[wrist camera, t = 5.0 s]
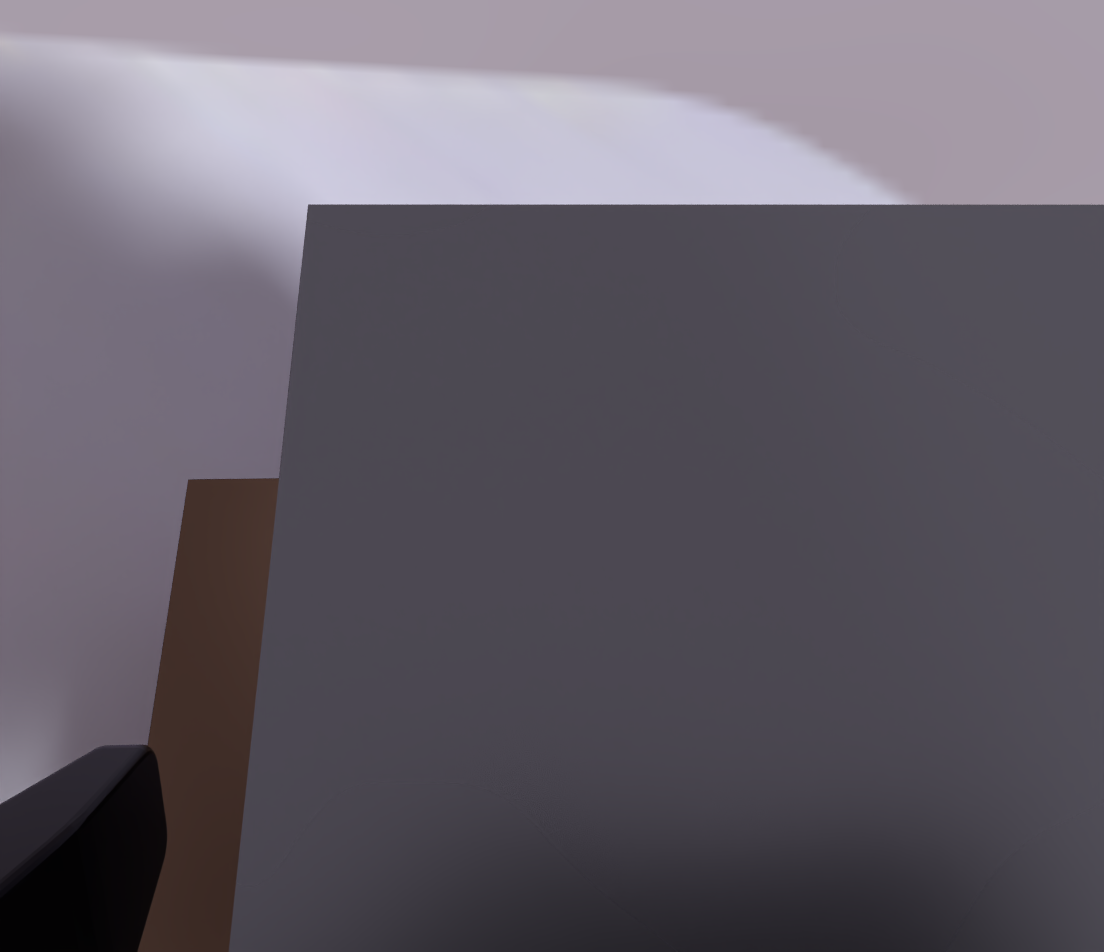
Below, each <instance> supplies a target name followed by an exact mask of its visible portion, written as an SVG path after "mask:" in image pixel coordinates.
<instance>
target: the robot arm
mask: <svg viewBox="0 0 1104 952" xmlns="http://www.w3.org/2000/svg"><path fill="white" fill-rule="evenodd" d="M166 848H167V823H166V816H165V809H164V802H163V795H162V788H161V781H160V773H159V766H158V761H157V758H156V755H155V753H154V751H153V750H152V749H151V748H150V747H149V746H147V745H109V746H102V747H98V748H96V749H94V750H93V751H91V752H89V753H88V754H86V755H84V756H82V757H81V758H79V759H77V760H76V761H74V762H72V763H70V764H69V765H67V766H65V767H63V768H62V769H60V770H58V771H57V772H55V773H53V774H51V775H50V776H48V777H46V778H45V779H43V780H41V781H39V782H38V783H36V784H34V785H33V786H31V787H29V788H27V789H26V790H24V791H22V792H21V793H19V794H17V795H15V796H14V797H12V798H10V799H9V800H7V801H5V802H3V803H2V804H0V952H138V949H139V945H140V942H141V938H142V935H143V931H144V928H145V925H146V921H147V918H148V914H149V911H150V907H151V904H152V900H153V897H154V893H155V890H156V887H157V883H158V880H159V876H160V873H161V869H162V866H163V862H164V858H165V854H166Z"/></svg>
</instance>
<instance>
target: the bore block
mask: <svg viewBox="0 0 1104 952" xmlns="http://www.w3.org/2000/svg"><path fill="white" fill-rule="evenodd" d="M278 484H279V478H275V479H194V480H188V485H187V492H186V498H185V505H184V511H183V518H182V525H181V531H180V538H179V544H178V551H177V557H176V564H175V570H174V577H173V583H172V590H171V596H170V603H169V609H168V616H167V622H166V629H165V635H164V642H163V648H162V655H161V661H160V668H159V675H158V681H157V688H156V694H155V701H154V707H153V714H152V720H151V727H150V733H149V740H148V746H149V747H150V748H151V749H152V750H153V751H154V753H155V755H156V758H157V761H158V766H159V773H160V781H161V788H162V795H163V802H164V809H165V816H166V823H167V848H166V854H165V858H164V862H163V866H162V869H161V873H160V876H159V880H158V883H157V887H156V890H155V893H154V897H153V900H152V904H151V907H150V911H149V914H148V918H147V921H146V925H145V928H144V931H143V935H142V938H141V942H140V945H139V949H138V952H229V944H230V935H231V925H232V916H233V907H234V897H235V888H236V878H237V869H238V860H239V850H240V841H241V831H242V822H243V813H244V803H245V794H246V785H247V775H248V766H249V756H250V747H251V738H252V728H253V719H254V709H255V700H256V691H257V681H258V672H259V662H260V653H261V644H262V634H263V625H264V615H265V606H266V597H267V587H268V578H269V569H270V559H271V550H272V540H273V531H274V522H275V512H276V503H277V493H278Z"/></svg>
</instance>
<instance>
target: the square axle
mask: <svg viewBox="0 0 1104 952" xmlns="http://www.w3.org/2000/svg"><path fill="white" fill-rule="evenodd" d="M229 952H1104V205H308V212H307V221H306V230H305V240H304V249H303V259H302V268H301V277H300V287H299V296H298V306H297V315H296V324H295V334H294V343H293V353H292V362H291V371H290V381H289V390H288V399H287V409H286V418H285V428H284V437H283V446H282V456H281V465H280V475H279V484H278V493H277V503H276V512H275V522H274V531H273V540H272V550H271V559H270V569H269V578H268V587H267V597H266V606H265V615H264V625H263V634H262V644H261V653H260V662H259V672H258V681H257V691H256V700H255V709H254V719H253V728H252V738H251V747H250V756H249V766H248V775H247V785H246V794H245V803H244V813H243V822H242V831H241V841H240V850H239V860H238V869H237V878H236V888H235V897H234V907H233V916H232V925H231V935H230V944H229Z"/></svg>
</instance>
